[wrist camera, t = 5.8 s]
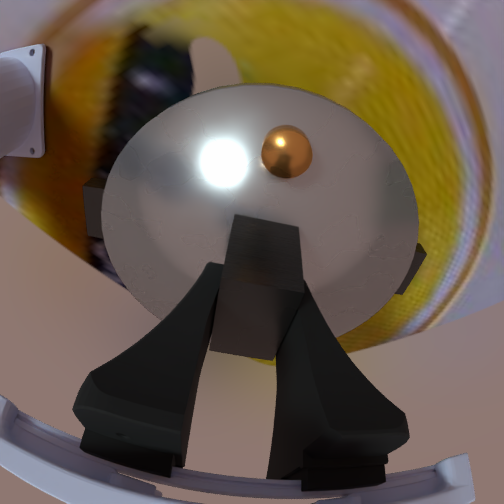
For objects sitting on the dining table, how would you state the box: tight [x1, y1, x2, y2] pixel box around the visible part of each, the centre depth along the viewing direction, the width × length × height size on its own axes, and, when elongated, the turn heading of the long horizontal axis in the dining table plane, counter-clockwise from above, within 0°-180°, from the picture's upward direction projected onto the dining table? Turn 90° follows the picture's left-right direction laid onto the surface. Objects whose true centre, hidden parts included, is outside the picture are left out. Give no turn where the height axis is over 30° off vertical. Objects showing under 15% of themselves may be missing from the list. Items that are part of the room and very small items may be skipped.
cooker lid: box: [101, 83, 419, 361], centre depth 12 cm, size 14×14×4 cm
